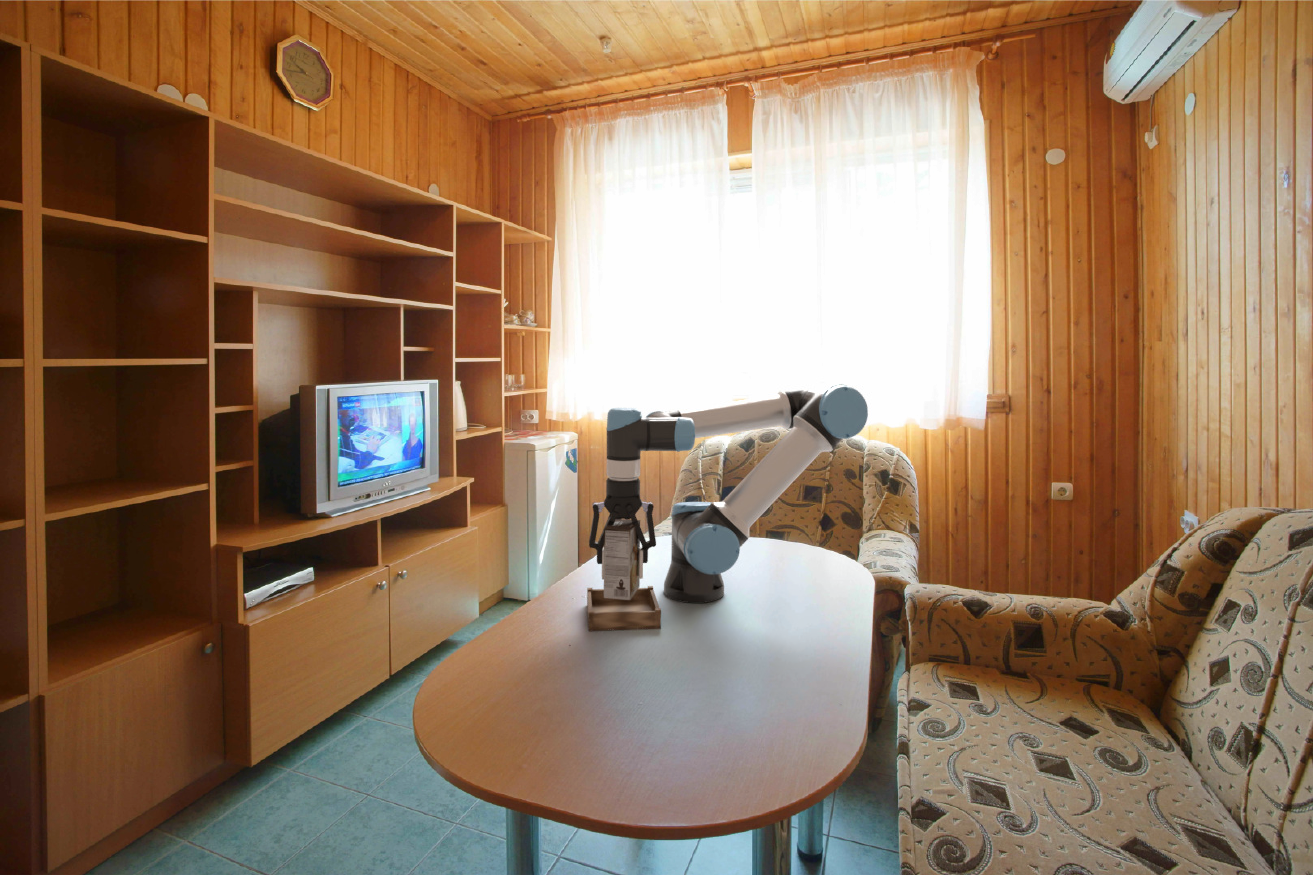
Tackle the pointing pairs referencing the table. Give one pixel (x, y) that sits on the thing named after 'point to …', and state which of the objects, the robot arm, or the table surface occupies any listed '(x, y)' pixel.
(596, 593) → the crate
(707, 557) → the robot arm
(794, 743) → the table surface
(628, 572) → the coffee box
